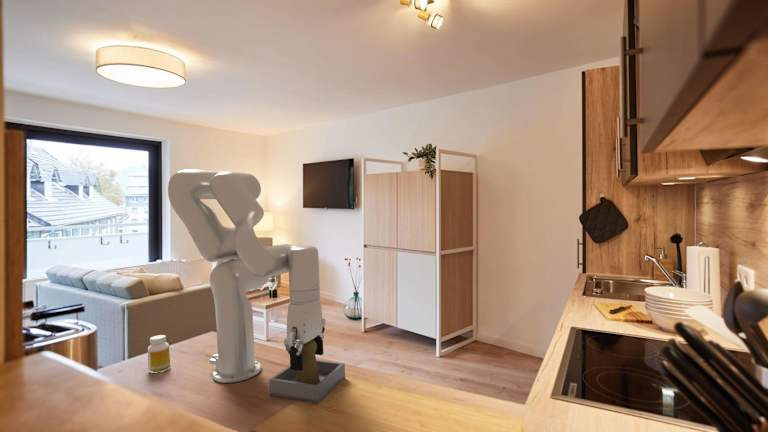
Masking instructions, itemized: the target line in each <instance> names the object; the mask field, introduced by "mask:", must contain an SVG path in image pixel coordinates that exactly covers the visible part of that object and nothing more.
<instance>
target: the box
mask: <svg viewBox="0 0 768 432" xmlns="http://www.w3.org/2000/svg"><path fill="white" fill-rule="evenodd" d="M316 362H317V368H318V373H319V379H320V383H318V384H317V385H313V384H307V383H300V382H296V379H297V370H291V368H290V364H289V365H288V366H287V367H285V368H284V369H282V370H281V371H280V372H278V373H276V374H275V375H274V376H272V377H271V378H269V379H268V380H269V395H270V396H272V397H277V398H282V399H286V400H287V399H288V400H293V401H299V402H306V403H309V402H310V403H311V404H316V405H318V404H320V403H321V402H322V401H324V399H325V398H326V397H328V396H329V394H331V393H332V392H333V391H334V390H335V389H336V388H337V387H338V386H339V385H340V384H341V383H342V382H343V381H344V380H345V379H346V368H345V367H346V365H345V363H344V362H338V361H329V360H323V359H322V360H321V359H316ZM342 380H343V381H342ZM341 381H342V382H341ZM340 382H341V383H340ZM339 383H340V384H339ZM338 384H339V385H338ZM337 385H338V386H337ZM336 386H337V387H336ZM335 387H336V388H335ZM334 388H335V389H334ZM333 389H334V390H333ZM332 390H333V391H332ZM331 391H332V392H331Z"/></svg>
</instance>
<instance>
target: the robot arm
mask: <svg viewBox="0 0 768 432" xmlns="http://www.w3.org/2000/svg"><path fill="white" fill-rule="evenodd" d="M167 183H168V185H167V195H168V200H169V202H170V206H171V207H172V210H174V212H175V214H176V215H177V216H178V218H179V219H180V221H182V223H183V224H184V226H185V228H186V229H187V231H188V232H187V233H189V235H190V238H191V239H192V241H193V243H194V244H195V246H196V248H197V250H198V253H199V254H200V255H201V256H202V258H203V259H204V260H205V261H207V262H210V263H216V262H220V263H218V264H217V265H216V266H214V268H213V269H212V270H211V273H210V274H209V285H210V289H211V292H212V296H213V300H214V309H215V322H216V324H215V325H216V339H217V340H216V341H217V344H216V346H217V353H214V354H213V356H212V358H210V360H209V364H210V365H215V369H214V370H213V372H212V379H213V380H214V381H215V382H217V383H225V384H226V383H227V384H228V383H229V384H231V383H238V382H242V381H246V380H248V379H250V378H251V379H252V378H253V377H254V376H256V375H258V374H259V373H260V372H261V370H262V364H261V362H260V361H257V360H256V356H255V353H256V352H255V336H254V315H253V306H252V303H251V301H250V300H249V298H248V296H247V294H246V292H249V291H252V290H257V289H258V288H261V287H263V286H265V285H266V284H267V283H268V281H270V278H271V277H275V276H279V275H283V274H286V273H288V282H289V283H288V285H289V287H288V289H289V302H288V307H287V312H286V313H287V314H286V315H287V316H286V337H285V338H284V340H283V344H284V347H285V350H286V351H287V354H288V355H289V365H290V368H291V370H297V371H301V370H303V361H302V354H300V353H301V350H302V347H303V344H305V343H307V342H309V341H310V340H314V341H315V342H316V344H317V350H316V352H315V356H316V355H317V356H323V355H324V337H325V335H324V332H325V330H326V329H325V327H326V326H325V325H326V323H327V321H326V318H323V313H322V312H323V311H322V304H321V288H320V287H321V286H320V265H319V263H320V261H319V250H318V248H317V247H316V246H314V245H299V246H298V245H294V244H289V243H287V244H286V243H284V244H278V245H277V244H276V245H271V246H264V245H263V244H262V242H261V241H260V240H259V238H258V236H257V235H256V232H255V230H254V227H256V226H257V225H258V224H259V223H260V222H261V221H262V219H263V218H264V214H265V211H264V209H263V207H262V206H261V204H260V203H259V201H257V199H258V198H259V197H260V195H261V191H262V187H261V183H260V181H259V180H258V178H257V177H256V176H254V175H253V174H251V173H246V172H235V171H216V170H215V171H213V170H204V169H202V170H201V169H183V170H178V171H176V172H175V173H173V174H172V175H171V177H170V178H169V180H168V182H167ZM202 200H216V201H217V202H218V204H219V206H220V207H221V208H222V210H223V211H224V213H225V214H226V215H227V217H228V218H229V220H230V221H231V223H232V224H233V225H234V226H228V227H226V226H224V225H223V224H222V223H221V222H220V220H219V218H218V216H217V215H216V213H215V212H214V210H213V209H212V208H211V207H210V206H208V205H207V204H206V203H204V202H203V201H202ZM223 261H224V262H223ZM296 345H298V348H297V349H296Z"/></svg>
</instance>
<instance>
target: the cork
mask: <svg viewBox="0 0 768 432" xmlns="http://www.w3.org/2000/svg"><path fill="white" fill-rule="evenodd" d="M295 348H296V349H297V348H298V345H296V344H295ZM316 350H317V344H316V342H315V341H314V340H310V341H309V342H307V343H305V344H303V347H302V350H301V353H300V354H302V361H303V370H301V371H297V379H296V382H300V383H307V384H313V385H317V384H318V383H320V379H319V373H318V368H317V362H316V360H317V358H316V355H315V352H316Z"/></svg>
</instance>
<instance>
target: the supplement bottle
mask: <svg viewBox="0 0 768 432" xmlns="http://www.w3.org/2000/svg"><path fill="white" fill-rule="evenodd" d="M149 343H150V345H149V346H148V347H147V362H148V363H147V364H148V365H147V366H148V371H149V370H150V371H153V372H161V371H164V370H166V369H168V368H169V367H170V368H171V357H170V356H171V355H170V354H171V353H170V344H169V342H167V336H166V335H164V334H158V335H154V336H151V337H150V338H149ZM170 368H169V369H170ZM169 369H168V370H169Z"/></svg>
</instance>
